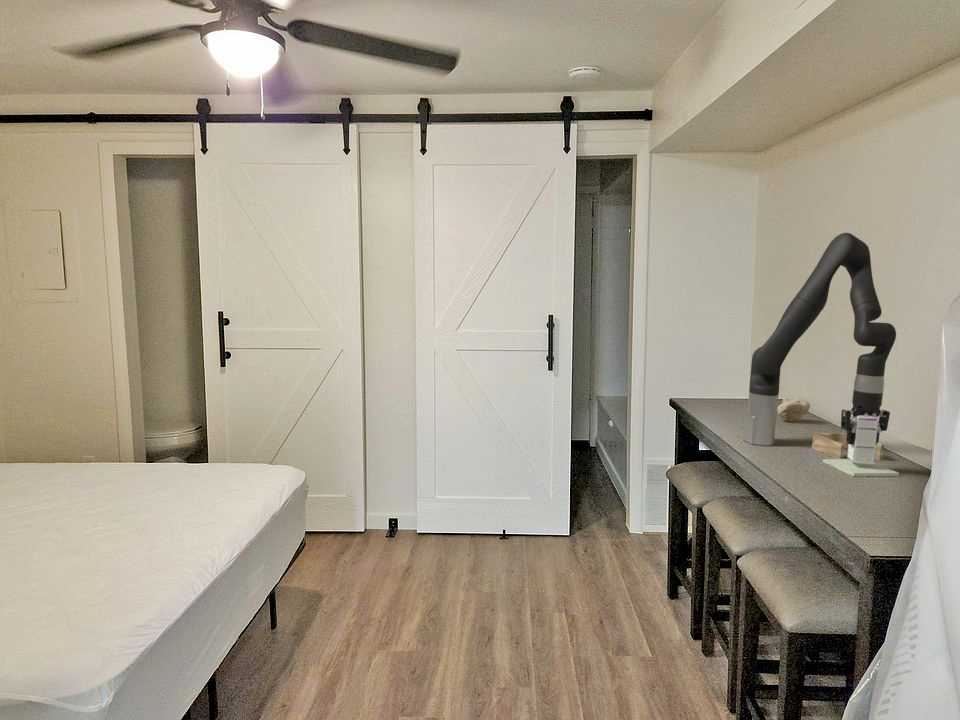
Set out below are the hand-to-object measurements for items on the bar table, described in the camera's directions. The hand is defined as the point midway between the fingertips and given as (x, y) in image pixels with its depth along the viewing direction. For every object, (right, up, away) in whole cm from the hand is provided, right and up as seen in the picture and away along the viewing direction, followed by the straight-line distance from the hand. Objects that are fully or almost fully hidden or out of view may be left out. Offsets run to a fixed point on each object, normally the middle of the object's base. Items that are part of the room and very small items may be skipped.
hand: (862, 444), depth 191 cm
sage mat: (0, -8, +1) cm, 8 cm away
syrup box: (0, -5, +1) cm, 6 cm away
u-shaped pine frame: (+5, -5, +17) cm, 19 cm away
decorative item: (+9, 0, +62) cm, 62 cm away
